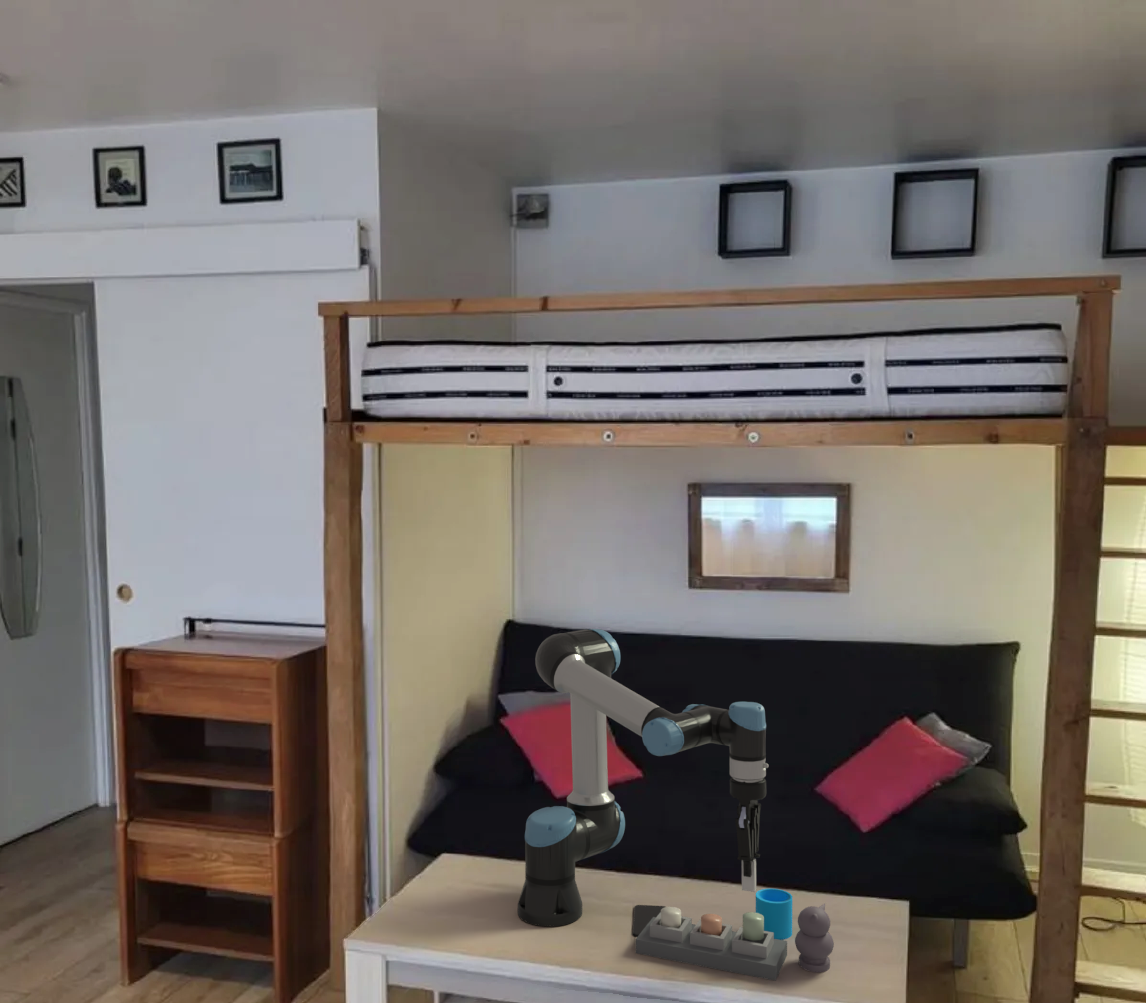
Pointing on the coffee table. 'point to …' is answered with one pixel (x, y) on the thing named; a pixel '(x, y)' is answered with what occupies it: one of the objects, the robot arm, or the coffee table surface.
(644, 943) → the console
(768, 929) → the mug
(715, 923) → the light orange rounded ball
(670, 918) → the ivory button
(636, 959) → the coffee table surface
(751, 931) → the sage button
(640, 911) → the smartphone
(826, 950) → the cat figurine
